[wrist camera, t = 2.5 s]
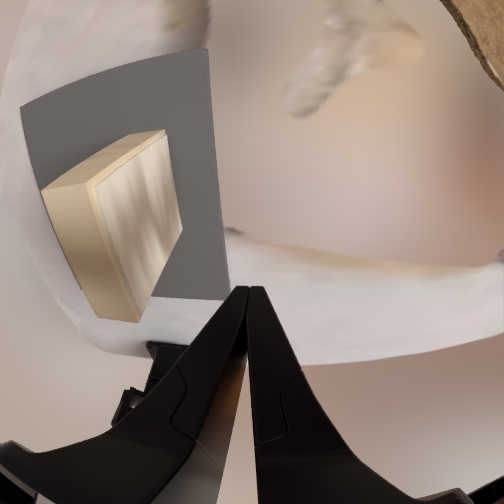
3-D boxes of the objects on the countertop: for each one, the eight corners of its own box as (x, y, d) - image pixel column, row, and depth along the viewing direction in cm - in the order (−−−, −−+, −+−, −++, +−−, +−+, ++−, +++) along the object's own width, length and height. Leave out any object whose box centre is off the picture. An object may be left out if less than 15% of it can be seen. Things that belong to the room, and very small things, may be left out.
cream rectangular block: (184, 231, 18) (142, 323, 12) (146, 231, 19) (94, 316, 12) (167, 128, 14) (89, 182, 8) (125, 135, 15) (37, 191, 8)
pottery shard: (540, 68, 8) (426, -69, 4) (559, 76, 6) (446, -76, 2) (511, 129, 13) (386, -11, 9) (532, 141, 11) (406, -18, 7)
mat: (231, 295, 23) (230, 300, 22) (83, 285, 24) (81, 289, 23) (207, 49, 12) (205, 48, 11) (24, 105, 13) (19, 107, 13)
